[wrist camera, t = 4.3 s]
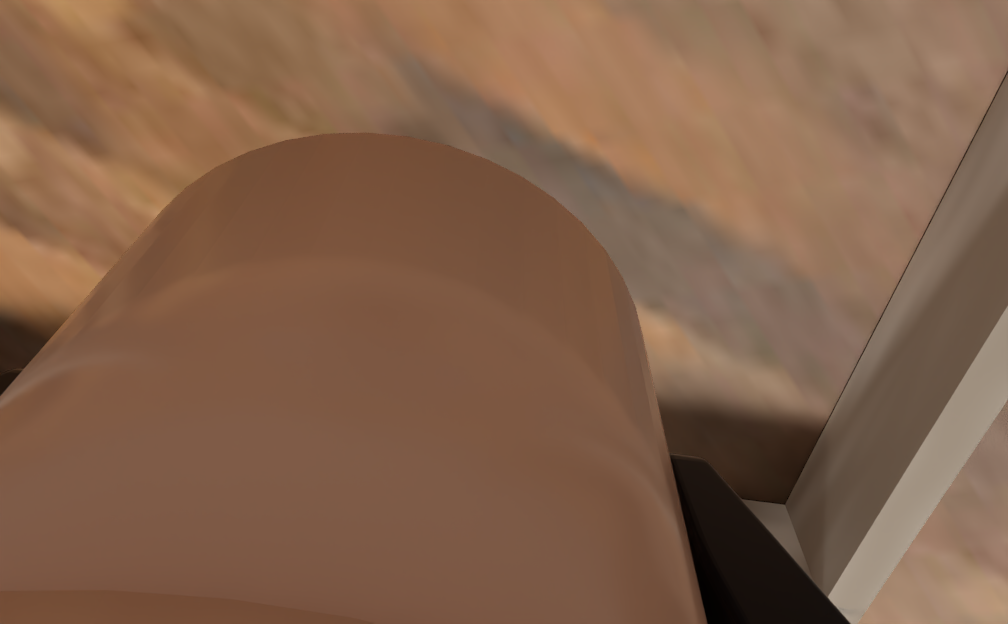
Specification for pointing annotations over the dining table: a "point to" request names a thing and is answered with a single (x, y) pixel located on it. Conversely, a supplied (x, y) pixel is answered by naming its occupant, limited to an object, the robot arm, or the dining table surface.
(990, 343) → the metal u frame
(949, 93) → the dining table surface
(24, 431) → the pot
